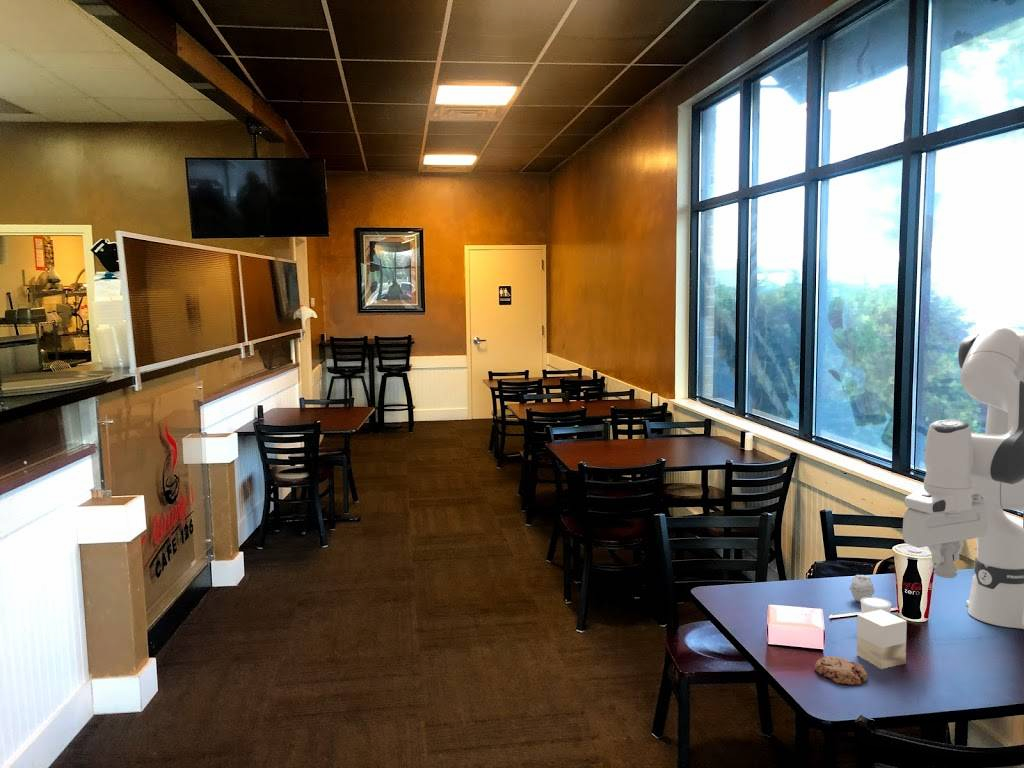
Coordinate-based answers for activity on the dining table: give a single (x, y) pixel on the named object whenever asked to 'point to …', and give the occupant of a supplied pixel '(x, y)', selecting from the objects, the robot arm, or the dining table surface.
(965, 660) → the dining table surface
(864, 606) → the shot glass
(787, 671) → the dining table surface
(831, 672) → the cookie
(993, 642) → the dining table surface
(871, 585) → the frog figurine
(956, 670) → the dining table surface
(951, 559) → the rook chess piece
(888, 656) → the lower block
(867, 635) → the upper block
